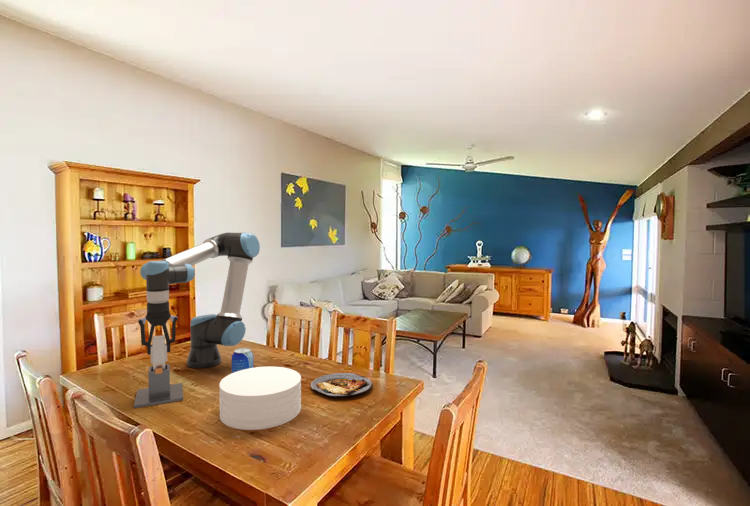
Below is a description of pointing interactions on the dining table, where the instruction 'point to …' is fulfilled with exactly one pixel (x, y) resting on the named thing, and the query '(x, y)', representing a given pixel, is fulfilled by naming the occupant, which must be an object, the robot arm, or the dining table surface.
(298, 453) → the dining table surface
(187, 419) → the dining table surface
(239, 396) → the plate stack
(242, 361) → the beer can
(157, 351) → the column
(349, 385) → the food plate
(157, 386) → the stand
